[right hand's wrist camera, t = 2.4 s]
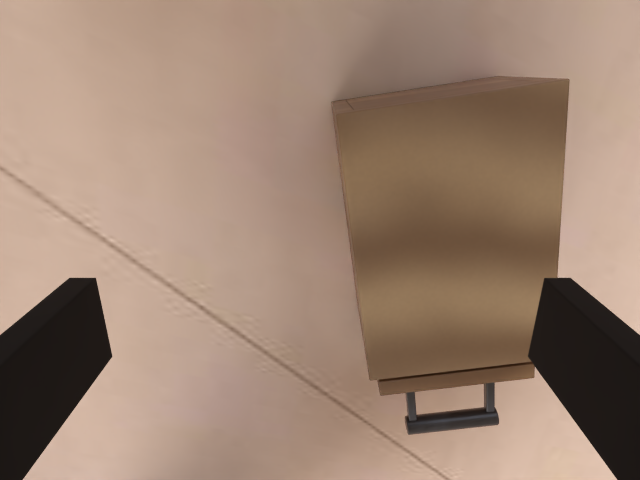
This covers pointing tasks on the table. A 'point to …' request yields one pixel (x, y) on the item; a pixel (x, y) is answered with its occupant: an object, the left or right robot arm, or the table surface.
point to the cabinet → (452, 218)
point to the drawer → (448, 380)
